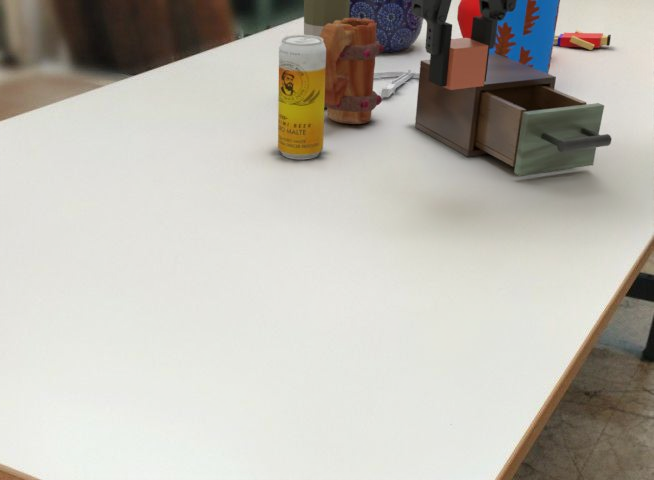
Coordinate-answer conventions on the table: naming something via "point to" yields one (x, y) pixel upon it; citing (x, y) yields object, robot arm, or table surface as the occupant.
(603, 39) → the toy figure
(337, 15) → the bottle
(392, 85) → the crossbow
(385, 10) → the planter
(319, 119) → the beer can
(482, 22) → the robot arm
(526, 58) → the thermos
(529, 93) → the drawer
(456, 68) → the block
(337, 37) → the mug
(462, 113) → the cabinet
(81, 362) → the table surface
